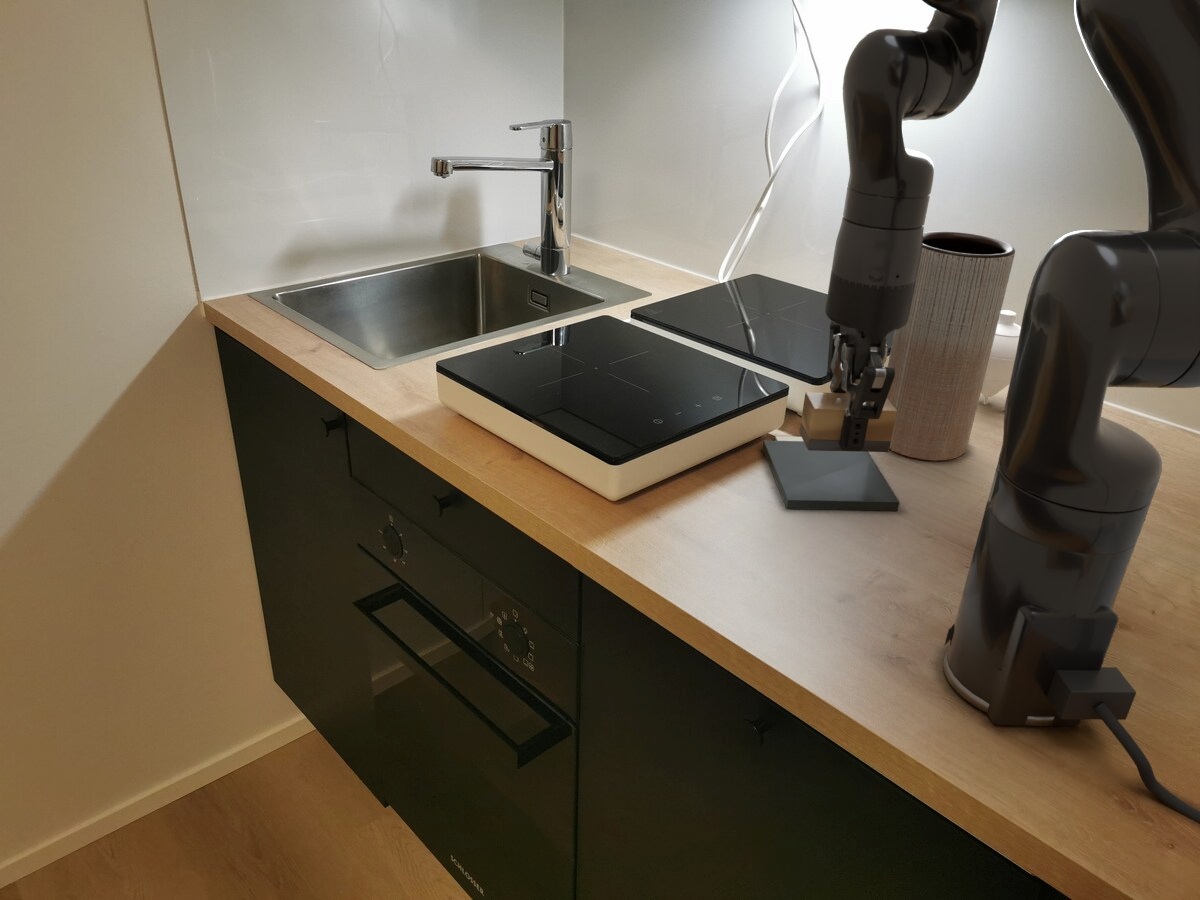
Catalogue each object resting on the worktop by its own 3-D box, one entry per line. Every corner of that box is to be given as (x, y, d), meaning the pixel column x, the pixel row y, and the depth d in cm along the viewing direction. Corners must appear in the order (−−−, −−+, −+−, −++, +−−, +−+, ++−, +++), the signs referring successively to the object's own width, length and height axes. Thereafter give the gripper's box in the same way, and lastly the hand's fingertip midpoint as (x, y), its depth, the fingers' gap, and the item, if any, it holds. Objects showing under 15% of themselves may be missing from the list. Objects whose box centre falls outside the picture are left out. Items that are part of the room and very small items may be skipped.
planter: (970, 468, 97) (1022, 259, 87) (874, 454, 100) (914, 249, 89) (962, 429, 106) (1009, 236, 96) (874, 417, 108) (910, 227, 98)
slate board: (897, 511, 89) (899, 502, 88) (786, 508, 88) (788, 500, 88) (860, 450, 100) (862, 442, 100) (762, 448, 100) (763, 440, 100)
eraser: (888, 452, 89) (897, 410, 87) (807, 450, 89) (814, 408, 86) (876, 434, 92) (884, 393, 90) (799, 432, 92) (805, 391, 90)
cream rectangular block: (806, 436, 102) (805, 439, 103) (775, 436, 102) (775, 438, 102) (809, 442, 101) (808, 445, 101) (778, 442, 101) (777, 444, 101)
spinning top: (941, 393, 116) (961, 302, 110) (995, 390, 117) (1018, 301, 112) (973, 418, 109) (997, 323, 104) (1030, 415, 110) (1057, 321, 105)
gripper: (942, 296, 76) (903, 474, 84) (891, 250, 89) (861, 409, 97) (854, 293, 76) (823, 472, 84) (815, 248, 89) (791, 408, 96)
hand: (844, 438), depth 90 cm, fingers closed on eraser, 4 cm apart
